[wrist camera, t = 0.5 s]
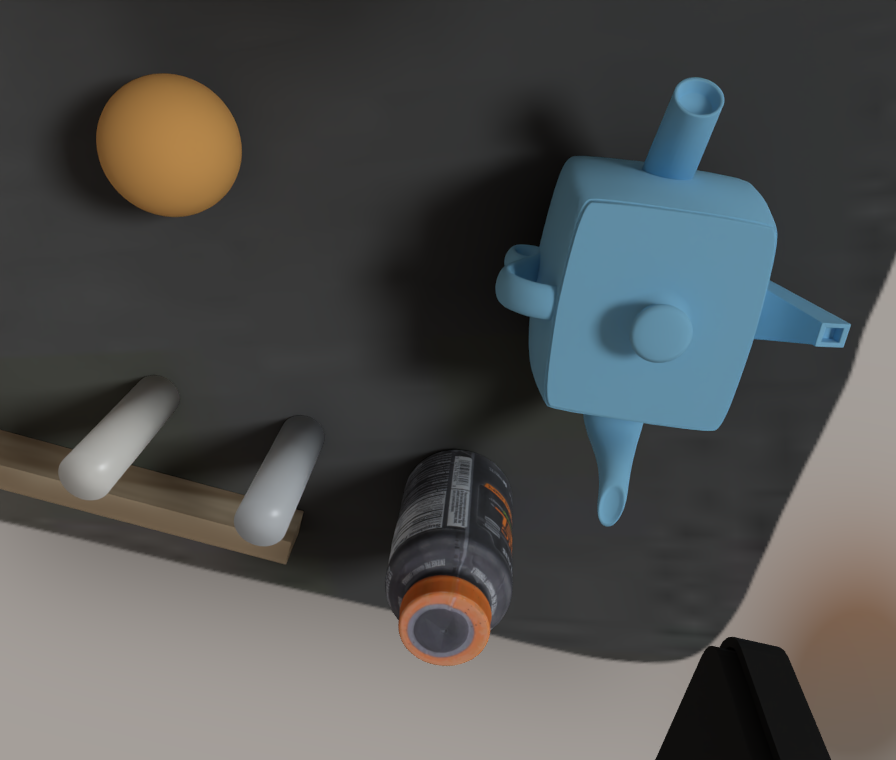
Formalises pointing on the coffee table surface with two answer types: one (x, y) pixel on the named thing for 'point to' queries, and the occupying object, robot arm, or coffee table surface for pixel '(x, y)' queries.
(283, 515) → the grey pin
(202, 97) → the ball
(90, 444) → the white pin
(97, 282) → the coffee table surface
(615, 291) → the teapot
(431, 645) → the pill bottle
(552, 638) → the coffee table surface
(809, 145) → the coffee table surface
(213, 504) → the tan wooden bar
